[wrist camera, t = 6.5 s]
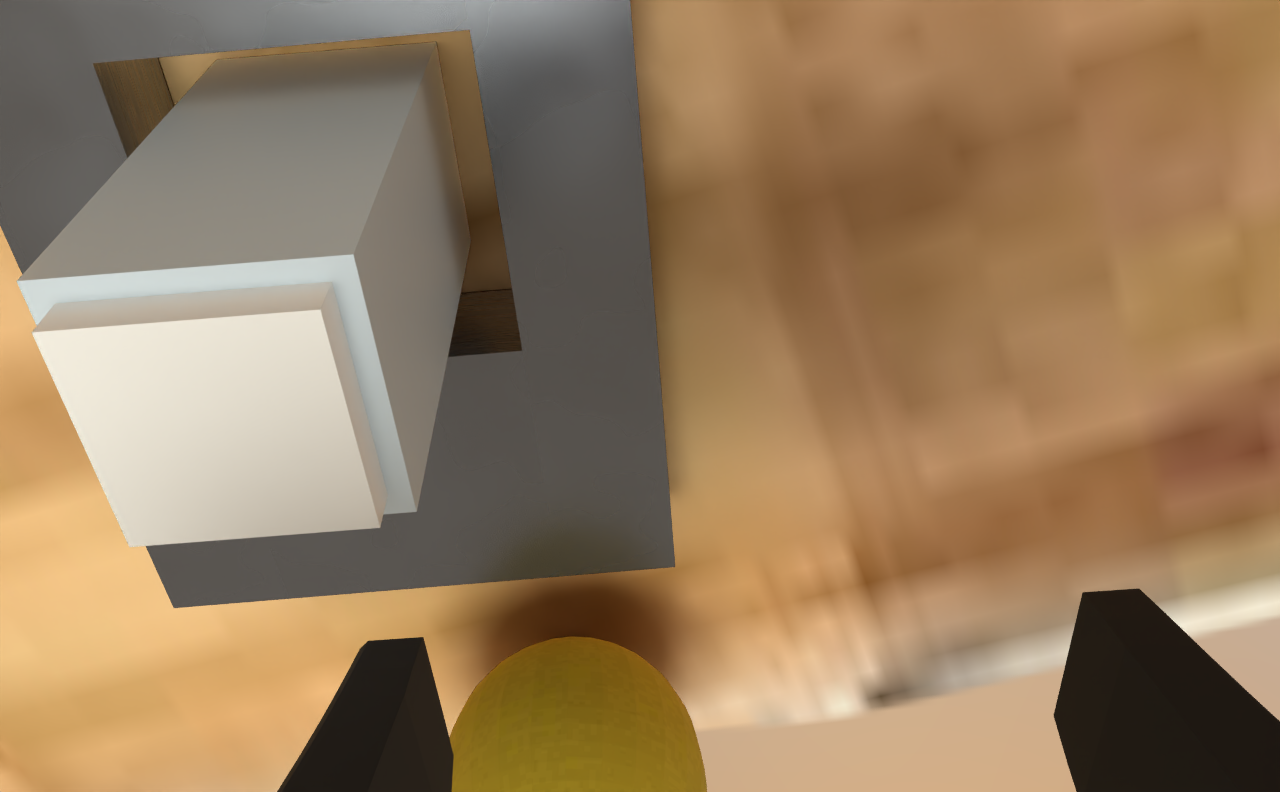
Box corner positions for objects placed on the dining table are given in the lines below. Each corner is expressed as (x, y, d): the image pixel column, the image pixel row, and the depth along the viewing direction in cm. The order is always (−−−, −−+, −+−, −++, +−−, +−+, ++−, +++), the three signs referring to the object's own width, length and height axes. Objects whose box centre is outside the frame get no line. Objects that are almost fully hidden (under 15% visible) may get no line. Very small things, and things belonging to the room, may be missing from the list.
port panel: (593, -447, 14) (593, -463, 12) (668, 495, 23) (676, 581, 21) (-164, -375, 14) (-296, -378, 12) (206, 533, 23) (166, 622, 21)
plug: (436, 41, 18) (342, 281, 11) (470, 240, 20) (409, 544, 13) (216, 59, 18) (-9, 309, 11) (274, 256, 20) (113, 567, 13)
